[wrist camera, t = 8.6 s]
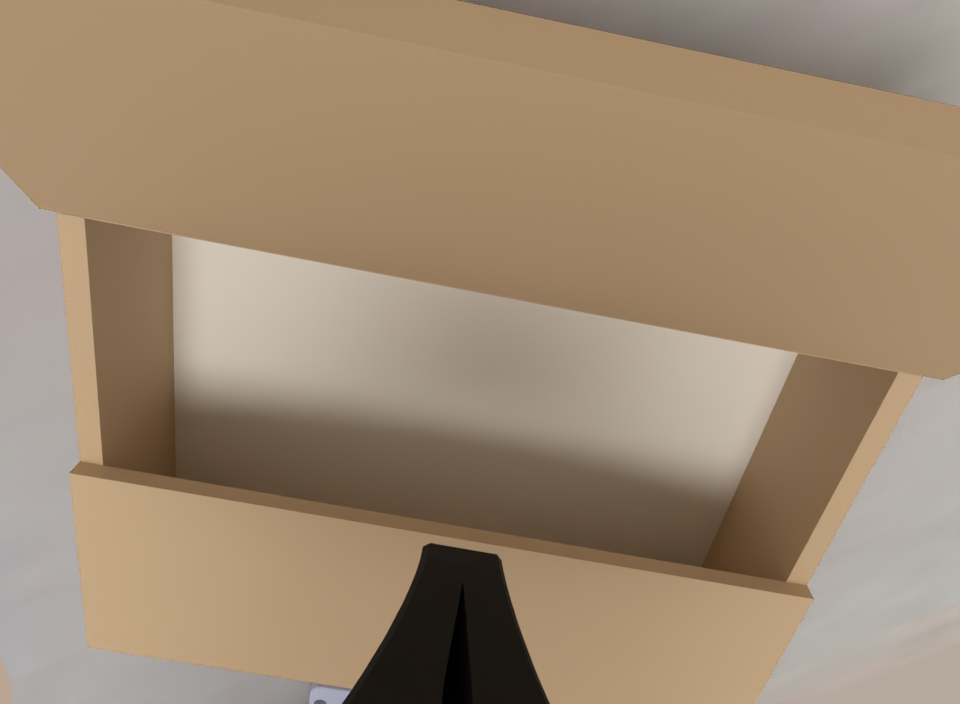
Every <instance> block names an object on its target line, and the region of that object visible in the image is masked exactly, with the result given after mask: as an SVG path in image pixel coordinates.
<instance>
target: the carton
mask: <svg viewBox="0 0 960 704" xmlns="http://www.w3.org/2000/svg"><path fill="white" fill-rule="evenodd" d="M57 223H58V233H59V244H60V255H61V265H62V276H63V286H64V297H65V308H66V318H67V329H68V339H69V350H70V361H71V371H72V382H73V392H74V403H75V413H76V424H77V435H78V445H79V456H80V462H79V463H78V464H77V465H76V466H75V468H74V469H73V470H72V471H71V472H70V473H69V474H70V484H71V493H72V503H73V513H74V522H75V532H76V541H77V551H78V561H79V570H80V580H81V589H82V599H83V609H84V618H85V628H86V637H87V647H88V648H94V649H101V650H107V651H114V652H120V653H126V654H133V655H139V656H146V657H152V658H158V659H165V660H171V661H178V662H184V663H190V664H197V665H203V666H210V667H216V668H222V669H229V670H235V671H242V672H248V673H254V674H261V675H267V676H274V677H280V678H286V679H293V680H299V681H306V682H312V683H318V684H325V685H331V686H338V687H344V688H350V689H352V688H353V687H354V685H355V684H356V682H357V681H358V679H359V678H360V676H361V675H362V673H363V672H364V670H365V668H366V667H367V665H368V664H369V662H370V660H371V659H372V657H373V655H374V654H375V652H376V651H377V649H378V647H379V646H380V644H381V642H382V641H383V639H384V637H385V636H386V634H387V632H388V630H389V628H390V626H391V624H392V622H393V621H394V619H395V617H396V615H397V613H398V611H399V609H400V607H401V605H402V603H403V601H404V599H405V597H406V595H407V592H408V590H409V588H410V586H411V584H412V581H413V579H414V576H415V573H416V571H417V568H418V565H419V561H420V558H421V553H422V548H423V546H425V545H427V544H429V543H434V544H439V545H445V546H451V547H457V548H463V549H469V550H474V551H480V552H486V553H492V554H497V555H498V556H499V558H500V559H501V560H502V566H503V571H504V575H505V580H506V584H507V587H508V591H509V595H510V598H511V602H512V605H513V608H514V611H515V615H516V618H517V621H518V624H519V627H520V630H521V633H522V636H523V638H524V641H525V644H526V646H527V649H528V652H529V654H530V657H531V660H532V662H533V665H534V668H535V670H536V672H537V675H538V677H539V680H540V682H541V685H542V687H543V689H544V691H545V694H546V696H547V698H548V701H549V703H550V704H754V703H755V702H756V700H757V698H758V696H759V695H760V693H761V691H762V689H763V688H764V686H765V684H766V682H767V681H768V679H769V677H770V675H771V674H772V672H773V670H774V668H775V667H776V665H777V663H778V661H779V660H780V658H781V656H782V654H783V653H784V651H785V649H786V647H787V646H788V644H789V642H790V640H791V639H792V637H793V635H794V633H795V632H796V630H797V628H798V626H799V625H800V623H801V621H802V619H803V618H804V616H805V614H806V612H807V611H808V609H809V607H810V605H811V604H812V602H813V600H814V599H813V597H812V595H811V593H810V591H809V589H808V587H807V584H808V582H809V581H810V579H811V577H812V575H813V573H814V572H815V570H816V568H817V566H818V565H819V563H820V561H821V559H822V557H823V556H824V554H825V552H826V550H827V548H828V547H829V545H830V543H831V541H832V539H833V538H834V536H835V534H836V532H837V530H838V529H839V527H840V525H841V523H842V521H843V520H844V518H845V516H846V514H847V512H848V511H849V509H850V507H851V505H852V503H853V502H854V500H855V498H856V496H857V494H858V493H859V491H860V489H861V487H862V485H863V484H864V482H865V480H866V478H867V476H868V475H869V473H870V471H871V469H872V467H873V466H874V464H875V462H876V460H877V458H878V457H879V455H880V453H881V451H882V450H883V448H884V446H885V444H886V442H887V441H888V439H889V437H890V435H891V433H892V432H893V430H894V428H895V426H896V424H897V423H898V421H899V419H900V417H901V415H902V414H903V412H904V410H905V408H906V406H907V405H908V403H909V401H910V399H911V397H912V396H913V394H914V392H915V390H916V388H917V387H918V385H919V383H920V381H921V379H922V378H923V376H920V375H915V374H910V373H904V372H899V371H894V370H889V369H883V368H878V367H873V366H867V365H862V364H857V363H852V362H846V361H841V360H836V359H830V358H825V357H820V356H815V355H809V354H804V353H799V352H794V351H788V350H783V349H778V348H772V347H767V346H762V345H757V344H751V343H746V342H741V341H735V340H730V339H725V338H720V337H714V336H709V335H704V334H699V333H693V332H688V331H683V330H677V329H672V328H667V327H662V326H656V325H651V324H646V323H641V322H635V321H630V320H625V319H619V318H614V317H609V316H604V315H598V314H593V313H588V312H582V311H577V310H572V309H567V308H561V307H556V306H551V305H546V304H540V303H535V302H530V301H524V300H519V299H514V298H509V297H503V296H498V295H493V294H487V293H482V292H477V291H472V290H466V289H461V288H456V287H451V286H445V285H440V284H435V283H429V282H424V281H419V280H414V279H408V278H403V277H398V276H392V275H387V274H382V273H377V272H371V271H366V270H361V269H356V268H350V267H345V266H340V265H334V264H329V263H324V262H319V261H313V260H308V259H303V258H297V257H292V256H287V255H282V254H276V253H271V252H266V251H261V250H255V249H250V248H245V247H239V246H234V245H229V244H224V243H218V242H213V241H208V240H202V239H197V238H192V237H187V236H181V235H176V234H171V233H166V232H160V231H155V230H150V229H144V228H139V227H134V226H129V225H123V224H118V223H113V222H108V221H102V220H97V219H92V218H86V217H81V216H76V215H71V214H65V213H60V212H57Z"/></svg>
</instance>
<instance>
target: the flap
mask: <svg viewBox="0 0 960 704" xmlns="http://www.w3.org/2000/svg"><path fill="white" fill-rule="evenodd" d="M0 168H1V169H2V170H3V171H4V172H5V173H6V174H7V175H8V176H9V177H10V178H11V179H12V180H13V181H14V182H15V184H16V185H17V186H18V187H19V188H20V189H21V190H22V191H23V192H24V193H25V194H26V195H27V196H28V197H29V198H30V199H31V200H32V201H33V202H34V203H35V205H36V206H37V207H38V208H39V209H44V210H49V211H55V212H60V213H65V214H71V215H76V216H81V217H86V218H92V219H97V220H102V221H108V222H113V223H118V224H123V225H129V226H134V227H139V228H144V229H150V230H155V231H160V232H166V233H171V234H176V235H181V236H187V237H192V238H197V239H202V240H208V241H213V242H218V243H224V244H229V245H234V246H239V247H245V248H250V249H255V250H261V251H266V252H271V253H276V254H282V255H287V256H292V257H297V258H303V259H308V260H313V261H319V262H324V263H329V264H334V265H340V266H345V267H350V268H356V269H361V270H366V271H371V272H377V273H382V274H387V275H392V276H398V277H403V278H408V279H414V280H419V281H424V282H429V283H435V284H440V285H445V286H451V287H456V288H461V289H466V290H472V291H477V292H482V293H487V294H493V295H498V296H503V297H509V298H514V299H519V300H524V301H530V302H535V303H540V304H546V305H551V306H556V307H561V308H567V309H572V310H577V311H582V312H588V313H593V314H598V315H604V316H609V317H614V318H619V319H625V320H630V321H635V322H641V323H646V324H651V325H656V326H662V327H667V328H672V329H677V330H683V331H688V332H693V333H699V334H704V335H709V336H714V337H720V338H725V339H730V340H735V341H741V342H746V343H751V344H757V345H762V346H767V347H772V348H778V349H783V350H788V351H794V352H799V353H804V354H809V355H815V356H820V357H825V358H830V359H836V360H841V361H846V362H852V363H857V364H862V365H867V366H873V367H878V368H883V369H889V370H894V371H899V372H904V373H910V374H915V375H920V376H925V377H931V378H936V379H941V380H944V379H947V378H950V377H952V376H955V375H958V374H960V107H957V106H953V105H948V104H943V103H938V102H934V101H929V100H924V99H920V98H915V97H910V96H905V95H901V94H896V93H891V92H887V91H882V90H877V89H873V88H868V87H863V86H858V85H854V84H849V83H844V82H840V81H835V80H830V79H825V78H821V77H816V76H811V75H807V74H802V73H797V72H792V71H788V70H783V69H778V68H774V67H769V66H764V65H760V64H755V63H750V62H745V61H741V60H736V59H731V58H727V57H722V56H717V55H712V54H708V53H703V52H698V51H694V50H689V49H684V48H680V47H675V46H670V45H665V44H661V43H656V42H651V41H647V40H642V39H637V38H632V37H628V36H623V35H618V34H614V33H609V32H604V31H599V30H595V29H590V28H585V27H581V26H576V25H571V24H567V23H562V22H557V21H552V20H548V19H543V18H538V17H534V16H529V15H524V14H519V13H515V12H510V11H505V10H501V9H496V8H491V7H486V6H482V5H477V4H472V3H468V2H463V1H458V0H0Z"/></svg>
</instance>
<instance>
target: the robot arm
mask: <svg viewBox="0 0 960 704" xmlns="http://www.w3.org/2000/svg"><path fill="white" fill-rule="evenodd" d="M309 704H550V703H549V701H548V698H547V696H546V694H545V691H544V689H543V687H542V685H541V682H540V680H539V677H538V675H537V672H536V670H535V668H534V665H533V662H532V660H531V657H530V654H529V652H528V649H527V646H526V644H525V641H524V638H523V636H522V633H521V630H520V627H519V624H518V621H517V618H516V615H515V611H514V608H513V605H512V602H511V598H510V595H509V591H508V587H507V584H506V580H505V575H504V571H503V566H502V560H501V559H500V558H499V556H498V555H497V554H492V553H486V552H480V551H474V550H469V549H463V548H457V547H451V546H445V545H439V544H434V543H429V544H427V545H425V546H423V548H422V553H421V558H420V561H419V565H418V568H417V571H416V573H415V576H414V579H413V581H412V584H411V586H410V588H409V590H408V592H407V595H406V597H405V599H404V601H403V603H402V605H401V607H400V609H399V611H398V613H397V615H396V617H395V619H394V621H393V622H392V624H391V626H390V628H389V630H388V632H387V634H386V636H385V637H384V639H383V641H382V642H381V644H380V646H379V647H378V649H377V651H376V652H375V654H374V655H373V657H372V659H371V660H370V662H369V664H368V665H367V667H366V668H365V670H364V672H363V673H362V675H361V676H360V678H359V679H358V681H357V682H356V684H355V685H354V687H353V688H352V689H350V688H344V687H338V686H331V685H325V684H318V683H313V685H312V687H311V690H310V695H309Z"/></svg>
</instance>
